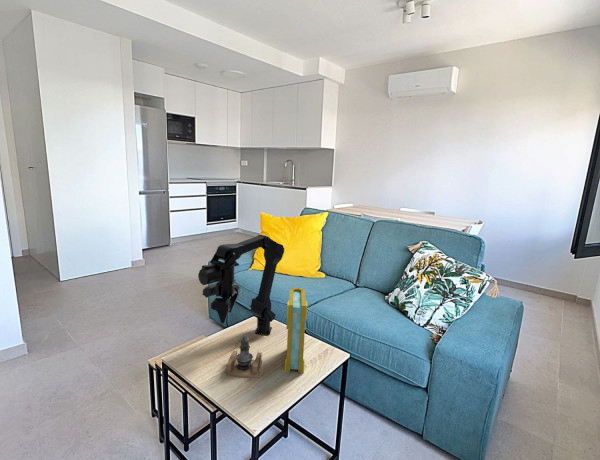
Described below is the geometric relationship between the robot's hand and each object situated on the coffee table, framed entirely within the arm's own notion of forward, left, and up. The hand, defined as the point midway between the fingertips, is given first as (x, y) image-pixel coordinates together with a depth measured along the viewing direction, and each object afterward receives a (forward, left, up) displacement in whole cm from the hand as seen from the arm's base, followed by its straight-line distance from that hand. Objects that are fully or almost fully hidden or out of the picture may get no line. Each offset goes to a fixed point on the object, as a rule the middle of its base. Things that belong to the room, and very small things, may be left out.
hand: (226, 317), depth 126 cm
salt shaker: (+12, +10, -12) cm, 20 cm away
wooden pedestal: (+12, +10, -13) cm, 20 cm away
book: (+3, +27, -13) cm, 30 cm away
